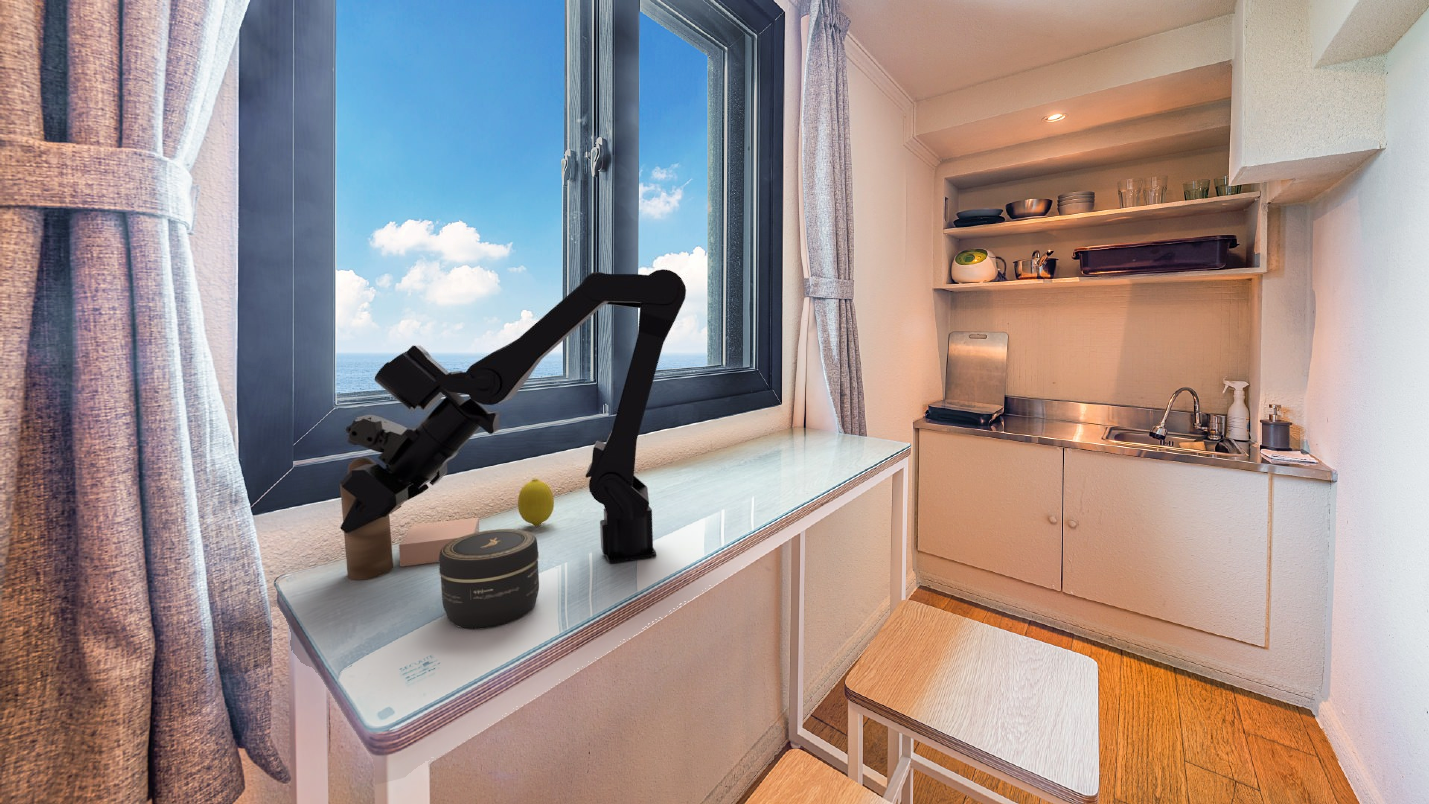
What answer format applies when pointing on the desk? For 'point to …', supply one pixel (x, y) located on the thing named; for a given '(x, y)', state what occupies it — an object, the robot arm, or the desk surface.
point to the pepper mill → (366, 539)
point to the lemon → (535, 502)
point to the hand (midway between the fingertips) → (355, 523)
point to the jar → (489, 577)
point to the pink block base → (433, 539)
